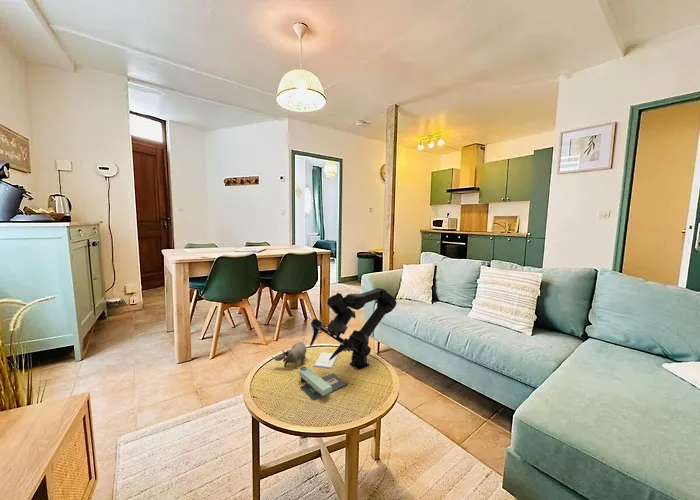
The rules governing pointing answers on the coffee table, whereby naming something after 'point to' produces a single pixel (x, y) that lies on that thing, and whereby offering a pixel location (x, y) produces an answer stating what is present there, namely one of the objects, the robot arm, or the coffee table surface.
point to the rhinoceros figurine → (293, 354)
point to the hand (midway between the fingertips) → (319, 353)
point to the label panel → (330, 379)
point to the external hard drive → (325, 361)
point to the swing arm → (315, 381)
